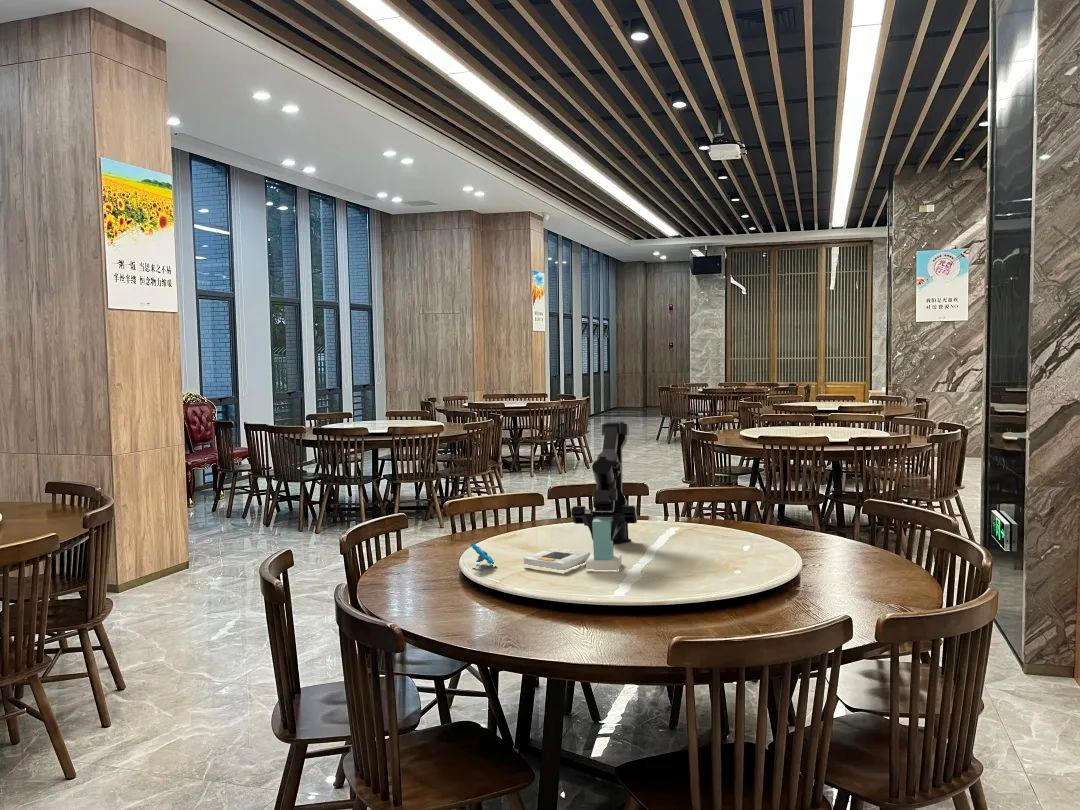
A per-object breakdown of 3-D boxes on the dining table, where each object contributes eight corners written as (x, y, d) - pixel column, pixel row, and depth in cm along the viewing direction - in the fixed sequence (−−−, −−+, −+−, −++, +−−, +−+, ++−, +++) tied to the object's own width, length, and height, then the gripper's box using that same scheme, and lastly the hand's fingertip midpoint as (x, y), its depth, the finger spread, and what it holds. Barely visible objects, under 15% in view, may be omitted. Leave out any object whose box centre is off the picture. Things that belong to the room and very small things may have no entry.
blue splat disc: (498, 565, 257) (472, 542, 257) (485, 581, 256) (459, 558, 256) (499, 561, 268) (474, 539, 268) (486, 576, 267) (461, 554, 268)
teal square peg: (596, 555, 257) (594, 518, 256) (613, 555, 256) (611, 517, 255) (594, 559, 252) (592, 521, 251) (611, 559, 251) (609, 521, 250)
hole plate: (552, 557, 270) (551, 547, 270) (590, 562, 261) (590, 551, 261) (524, 568, 259) (523, 557, 258) (563, 574, 250) (562, 562, 250)
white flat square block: (591, 563, 260) (590, 553, 260) (621, 563, 258) (621, 553, 258) (586, 572, 251) (585, 561, 251) (618, 572, 249) (617, 561, 249)
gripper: (570, 479, 258) (565, 524, 248) (634, 477, 254) (632, 524, 244) (576, 500, 267) (571, 545, 257) (638, 499, 263) (636, 545, 253)
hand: (602, 539), depth 252 cm, fingers closed on teal square peg, 5 cm apart
